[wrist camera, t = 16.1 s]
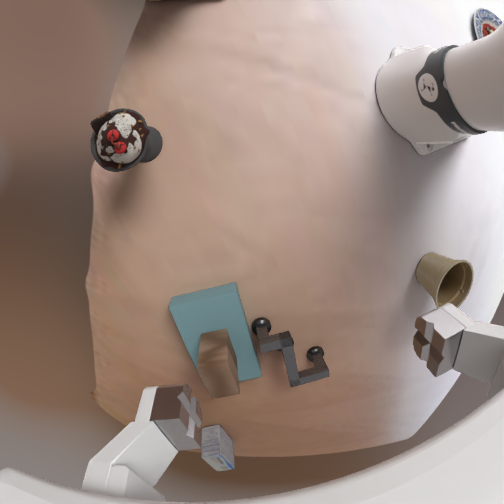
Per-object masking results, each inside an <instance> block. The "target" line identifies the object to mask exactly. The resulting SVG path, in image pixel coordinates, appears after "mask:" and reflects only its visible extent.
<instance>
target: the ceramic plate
mask: <svg viewBox="0 0 504 504" xmlns="http://www.w3.org/2000/svg"><path fill="white" fill-rule="evenodd" d="M502 23H503V22H502V21H501V20H500V19H499V18H498V17H497V16H496V15H495V14H493V13H492V12H490V11H489V10H487V9H484V8H479V9H477V10H476V11H475V13H474V27H475V32H476V35H477V39H480V38H483V37H485V36H487V35H489V34H491V33H492V32H494V31H495V30H496V29H497V28H498V27H499V26H500V25H501V24H502Z"/></svg>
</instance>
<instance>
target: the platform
mask: <svg viewBox="0 0 504 504" xmlns="http://www.w3.org/2000/svg"><path fill="white" fill-rule="evenodd" d="M169 309H170V311H171V313H172V316H173V318H174V321H175V323H176V325H177V328H178V330H179V332H180V334H181V337H182V339H183V341H184V343H185V346H186V348H187V350H188V352H189V354H190V356H191V359H192V361H193V363H194V365H195V367H196V369H197V366H198V356H199V347H200V337H201V334H202V333H207V332H212V331H216V330H221V329H226V328H227V331H228V334H229V337H230V339H231V342H232V345H233V348H234V351H235V354H236V357H237V366H238V378H239V381H244V380H249V379H253V378H258V377H262V373H261V367H260V363H259V360H258V356H257V353H256V350H255V347H254V343H253V340H252V337H251V333H250V330H249V326H248V323H247V320H246V316H245V313H244V309H243V306H242V303H241V299H240V296H239V292H238V289H237V285H236V282H234V283H230V284H226V285H222V286H218V287H214V288H210V289H205V290H201V291H197V292H193V293H188V294H184V295H180V296H176V297H172V299H171V302H170V305H169ZM197 371H198V370H197ZM198 373H199V372H198ZM199 375H200V374H199ZM200 377H201V376H200ZM201 379H202V378H201ZM202 381H203V380H202ZM203 383H204V382H203ZM204 385H205V384H204ZM205 387H206V386H205Z"/></svg>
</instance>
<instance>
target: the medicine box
mask: <svg viewBox="0 0 504 504" xmlns="http://www.w3.org/2000/svg"><path fill="white" fill-rule="evenodd" d="M202 458H203V459H204V460H205V461H206V462H207V463H208V464H209V465H210V466H212V467H213V468H214V469H215V470H216V471H223V470H229V469H234V468H235V464H234V451H233V440H232V439H231V438H230V437H229V436H228V435H227V433H226V432H225V431H224V430H223V429H222V427H221V426H220V425H214V426H209V427H204V428H202Z"/></svg>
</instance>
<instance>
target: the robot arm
mask: <svg viewBox="0 0 504 504" xmlns="http://www.w3.org/2000/svg"><path fill="white" fill-rule="evenodd" d="M376 94H377V99H378V103H379V106H380V108H381V111H382V113H383V115H384V116H385V118H386V120H387V121H388V123H389V124H390V125H391V126H392V128H393V129H394V130H395V131H396V132H397V133H399V134H400V135H401V136H403V137H404V138H406V139H407V140H408V141H410V142H411V144H412V146H413V147H414V148H415V150H416V151H417V152H418V153H419V154H420V155H427V154H429V153H432V152H434V151H436V150H439V149H441V148H444V147H446V146H449V145H451V144H454V143H456V142H458V141H461V140H463V139H466V138H468V137H470V136H471V135H476V134H481V133H485V132H487V131H503V132H504V21H503V23H502V24H501V25H500V26H499V27H498V28H497V29H496V30H495V31H494V32H492V33H491V34H489V35H487V36H485V37H483V38H480V39H478V40H475V41H473V42H470V43H467V44H465V45H462V46H457V45H451V46H445V47H441V48H439V49H436V48H432V47H430V46H429V45H423V46H420V47H417V48H414V49H411V50H410V49H407V48H404V47H401V46H398V47H395V48H394V49H393V50H392V53H391V57H390V59H389V60H388V61H387V62H386V63H385V64H384V65H383V66H382V67H381V69H380V71H379V73H378V76H377V80H376ZM427 145H428V148H427ZM415 327H416V329H417V330H418V331H417V332H416V334H415V335H414V340H413V345H414V350H415V352H416V354H417V356H418V357H419V358H420V359H421V360H424V361H427V368H428V369H429V370H430V371H431V372H432V374H433V375H434V376H435V377H438V376H439V375H441V374H443V373H445V372H447V371H449V370H451V369H452V368H453V369H454V370H456V371H458V372H461V373H463V374H465V375H468V376H470V377H473V378H475V379H477V380H480V381H482V382H485V383H487V384H489V385H491V386H490V388H489V390H488V392H487V394H486V399H487V400H488V401H487V402H485V403H484V404H483V405H481V406H480V407H479V408H477V409H476V410H475V411H473V412H472V413H470V414H469V415H467V416H466V417H464V418H463V419H462V420H460V421H458V422H457V423H455V424H454V425H452V426H451V427H449V428H447V429H446V430H444V431H443V432H441V433H439V434H438V435H436V436H434V437H432V438H431V439H429V440H427V441H425V442H423V443H422V444H420V445H418V446H416V447H414V448H412V449H410V450H408V451H406V452H404V453H402V454H400V455H398V456H395V457H393V458H391V459H389V460H386V461H384V462H382V463H379V464H377V465H375V466H372V467H370V468H367V469H364V470H362V471H359V472H356V473H354V474H351V475H348V476H345V477H342V478H339V479H335V480H332V481H329V482H325V483H322V484H318V485H315V486H311V487H307V488H303V489H299V490H295V491H289V492H285V493H279V494H274V495H269V496H262V497H255V498H248V499H239V500H228V501H213V502H165V499H166V498H165V497H164V496H163V495H162V494H161V493H159V492H158V491H157V490H155V489H154V488H153V486H154V485H155V484H156V482H157V481H158V480H159V478H160V477H161V475H162V474H163V473H164V471H165V470H166V468H167V467H168V466H169V464H170V463H171V461H172V460H173V458H174V457H175V455H176V454H177V453H178V451H177V450H189V449H199V448H201V438H202V433H201V431H200V430H199V428H198V427H199V426H200V425H201V424H202V412H201V407H200V405H199V402H198V401H197V399H196V398H194V397H193V396H191V393H192V390H191V388H190V387H189V385H188V384H187V383H181V384H172V385H162V386H155V387H146V388H145V389H144V390H143V393H142V397H141V400H140V404H139V408H138V411H137V415H136V419H135V422H131V423H130V424H128V425H127V426H126V427H125V428H124V429H123V430H122V431H121V432H120V433H119V434H118V435H117V436H116V437H115V438H114V439H113V440H112V441H111V442H109V443H108V444H107V445H106V446H105V447H104V448H103V449H102V450H101V451H100V452H99V453H97V454H96V455H95V456H94V457H93V458H92V459H91V460H90V461H89V464H88V468H87V471H86V474H85V477H84V481H83V485H82V488H81V490H80V489H76V488H72V487H68V486H65V485H61V484H58V483H55V482H51V481H48V480H45V479H42V478H39V477H36V476H34V475H31V474H28V473H26V472H23V471H21V470H19V469H16V468H13V467H7V468H5V469H3V470H1V471H0V504H504V326H499V325H494V324H489V323H484V322H480V321H478V322H476V323H475V322H474V321H473V320H472V319H470V318H469V317H468V316H467V315H465V314H464V313H463V312H462V311H460V310H459V309H458V308H457V307H455V306H454V305H453V304H451V303H447V304H445V305H443V306H441V307H439V308H437V309H435V310H433V311H431V312H428V313H426V314H424V315H422V316H420V317H418V318H417V320H416V323H415Z"/></svg>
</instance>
